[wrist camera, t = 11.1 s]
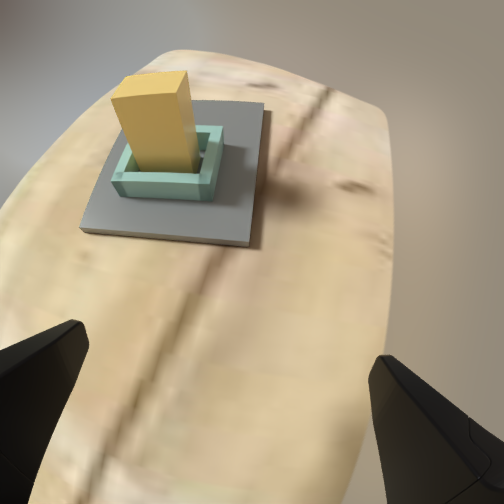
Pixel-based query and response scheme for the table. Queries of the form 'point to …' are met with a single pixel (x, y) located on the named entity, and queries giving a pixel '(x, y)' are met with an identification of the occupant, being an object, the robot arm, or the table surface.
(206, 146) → the plate
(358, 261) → the table surface
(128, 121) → the block
